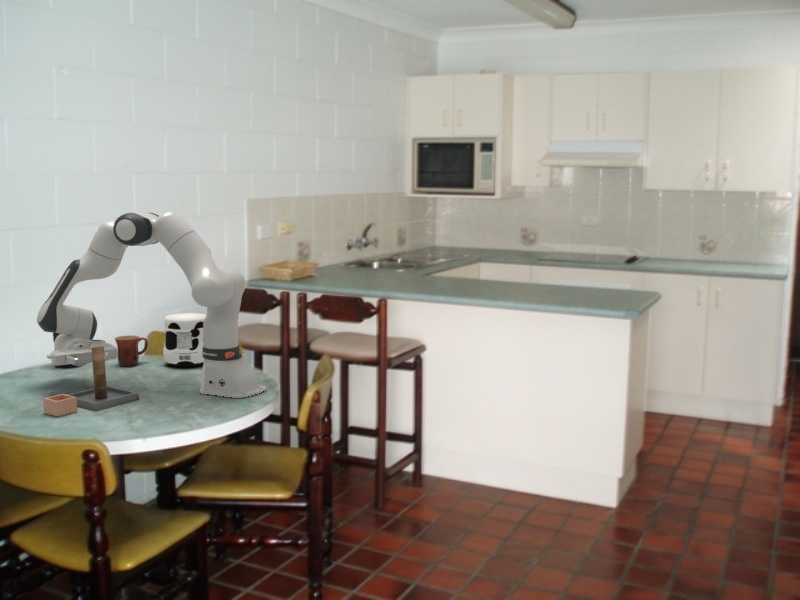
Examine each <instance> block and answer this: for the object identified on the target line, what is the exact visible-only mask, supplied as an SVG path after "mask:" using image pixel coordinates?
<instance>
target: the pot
mask: <svg viewBox="0 0 800 600" xmlns="http://www.w3.org/2000/svg"><path fill="white" fill-rule="evenodd" d="M42 401H43V402H42V403H43V414H45V415H48V416H49V415H50V416H52V415H53V417H56V416H57V418H58V416H59V417H62V415H63V416H66V414H67V415H70V414H69V413H71V414H74V412H75V413H78V406H77V397H74V396H70V395H67V394H66V393H61V394H56V395H52V396H48V397H45V398H44V397H43V398H42Z"/></svg>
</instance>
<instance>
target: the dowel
mask: <svg viewBox="0 0 800 600" xmlns="http://www.w3.org/2000/svg"><path fill="white" fill-rule="evenodd" d="M91 363H92V374H93V388H94V391H95V399H105V398H107V386H108V385H107V375H106V373H107V371H106V361H105V356H104V347H103V346H96V347H92V362H91ZM106 385H107V386H106Z"/></svg>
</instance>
